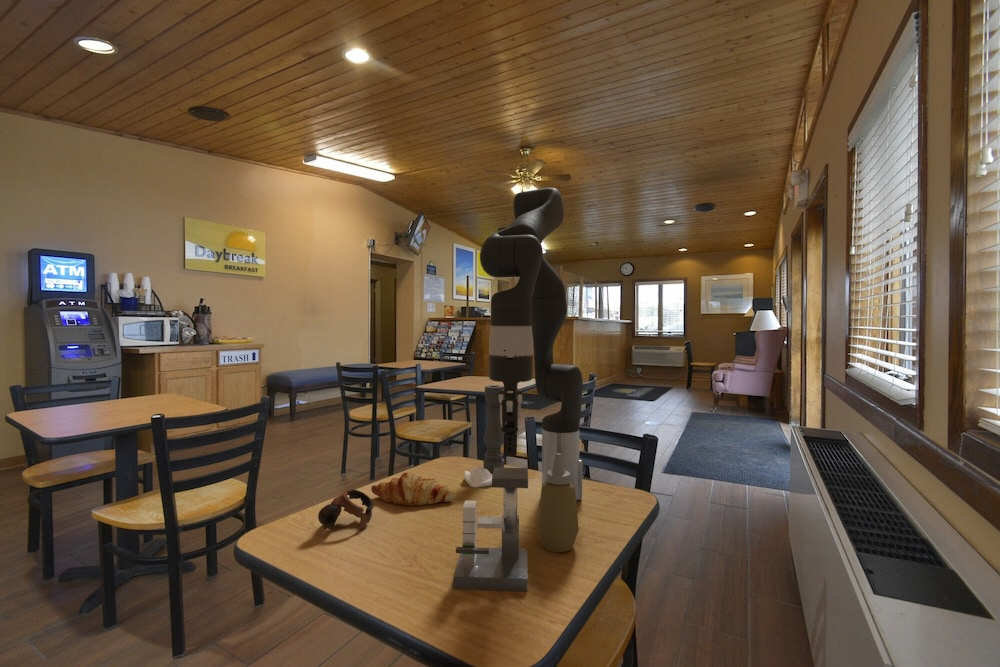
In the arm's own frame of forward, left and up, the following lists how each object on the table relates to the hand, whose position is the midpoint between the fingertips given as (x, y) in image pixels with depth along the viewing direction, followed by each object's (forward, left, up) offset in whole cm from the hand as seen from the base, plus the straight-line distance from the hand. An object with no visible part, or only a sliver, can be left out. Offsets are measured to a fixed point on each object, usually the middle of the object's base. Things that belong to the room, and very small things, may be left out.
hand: (510, 452), depth 79 cm
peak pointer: (+7, 0, -16) cm, 18 cm away
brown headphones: (+28, -28, -21) cm, 45 cm away
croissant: (+12, -38, -22) cm, 46 cm away
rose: (-7, -47, -22) cm, 52 cm away
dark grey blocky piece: (+1, 0, -14) cm, 14 cm away
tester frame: (+3, -1, -21) cm, 21 cm away
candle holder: (-13, -55, -21) cm, 60 cm away
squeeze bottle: (-12, -7, -21) cm, 26 cm away
